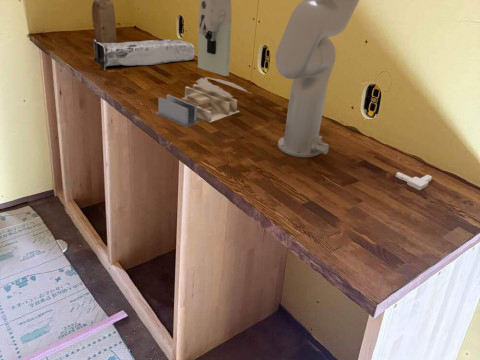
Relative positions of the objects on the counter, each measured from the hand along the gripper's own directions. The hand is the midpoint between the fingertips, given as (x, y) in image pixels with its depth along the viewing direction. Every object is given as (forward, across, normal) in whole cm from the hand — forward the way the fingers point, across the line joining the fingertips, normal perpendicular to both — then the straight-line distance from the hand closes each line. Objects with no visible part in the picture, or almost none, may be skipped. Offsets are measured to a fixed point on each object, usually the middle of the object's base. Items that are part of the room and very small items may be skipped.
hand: (213, 52), depth 148 cm
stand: (+19, -16, 0) cm, 24 cm away
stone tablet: (+19, +16, +8) cm, 26 cm away
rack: (+19, -4, +1) cm, 19 cm away
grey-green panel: (+6, 0, 0) cm, 6 cm away
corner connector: (+21, +6, -67) cm, 71 cm away
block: (+17, +18, +84) cm, 88 cm away
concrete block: (+18, +18, +56) cm, 61 cm away
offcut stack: (+17, -6, +1) cm, 19 cm away
